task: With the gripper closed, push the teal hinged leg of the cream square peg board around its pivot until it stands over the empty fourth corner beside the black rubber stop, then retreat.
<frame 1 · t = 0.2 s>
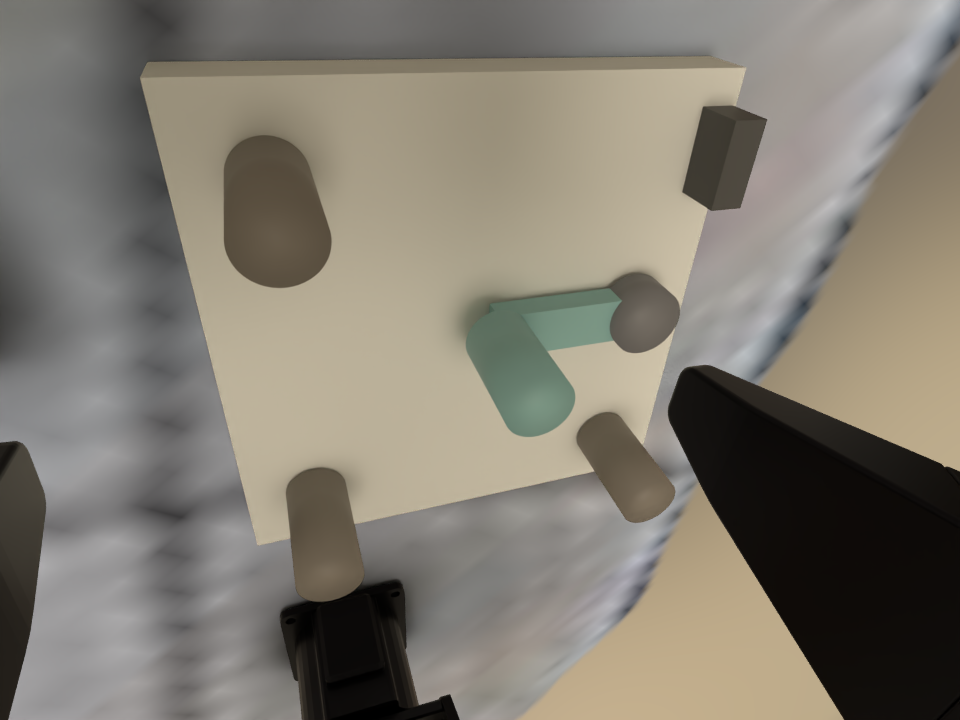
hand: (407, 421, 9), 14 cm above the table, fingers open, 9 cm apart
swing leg: (592, 349, 22), point 5 cm above the table, hinge at 90.0°
cream square peg board: (458, 308, 25), on the table
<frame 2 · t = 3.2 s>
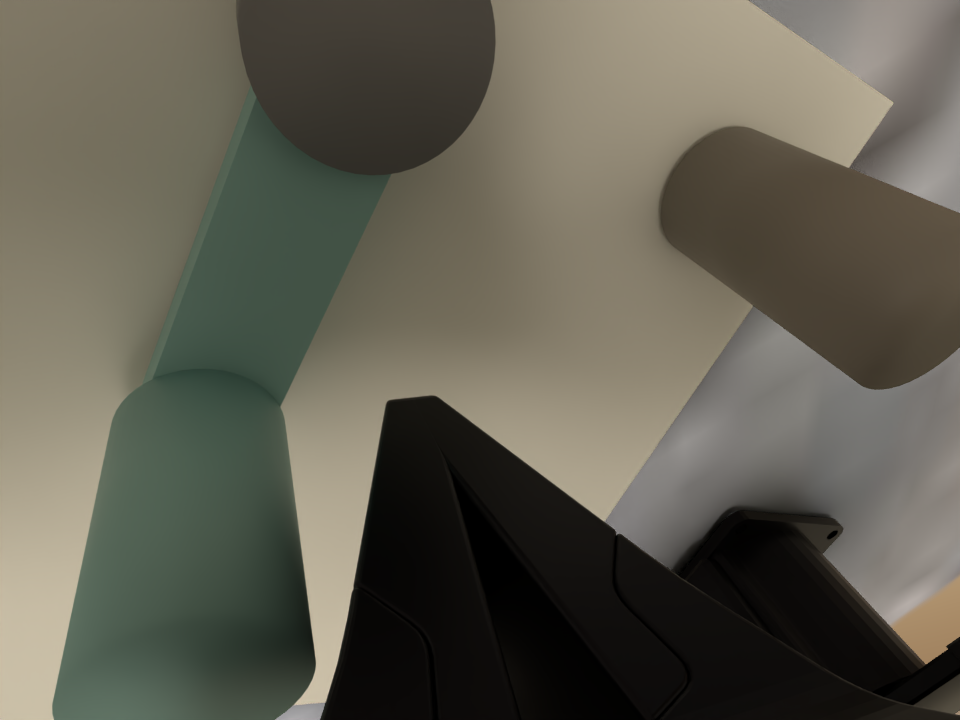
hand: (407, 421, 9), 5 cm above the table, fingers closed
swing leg: (286, 315, 7), point 5 cm above the table, hinge at 84.3°, touching gripper
cream square peg board: (257, 358, 13), on the table
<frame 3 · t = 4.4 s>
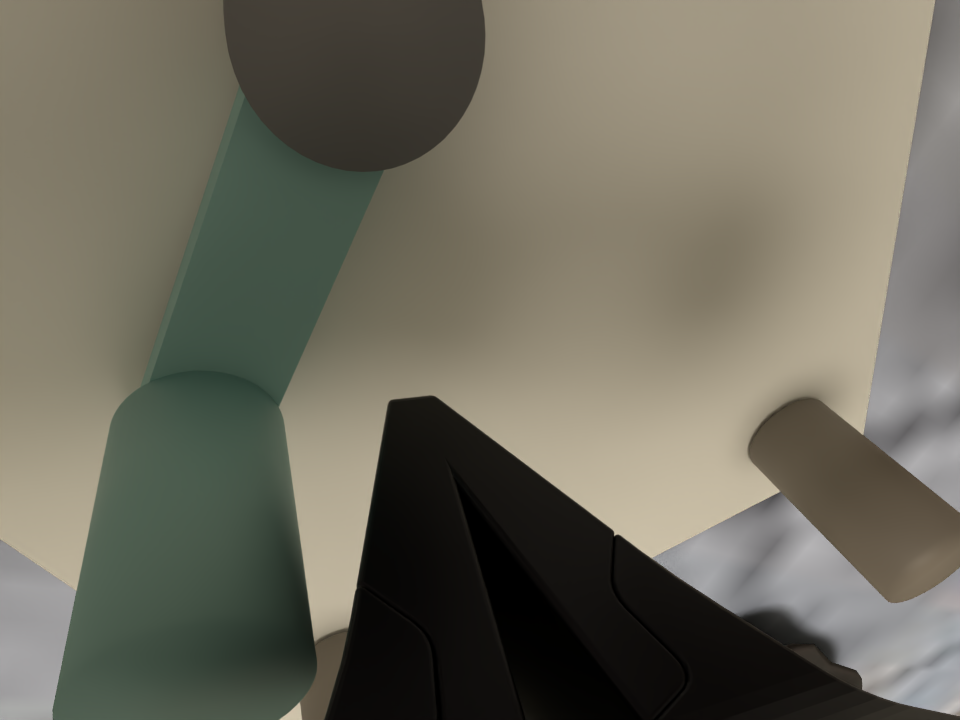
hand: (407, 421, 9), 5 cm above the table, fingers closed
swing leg: (280, 315, 7), point 5 cm above the table, hinge at 42.7°, touching gripper
cream square peg board: (474, 314, 14), on the table
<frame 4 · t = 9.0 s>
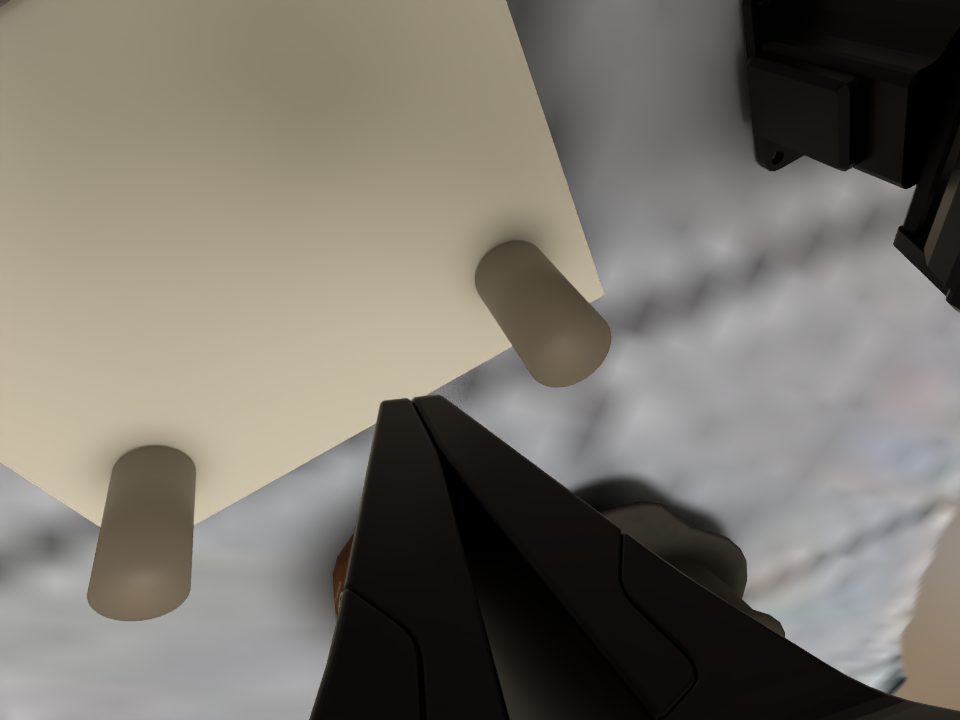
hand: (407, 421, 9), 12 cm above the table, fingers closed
cream square peg board: (199, 178, 17), on the table
food container: (373, 570, 30), on the table
casserole: (594, 608, 39), on the table
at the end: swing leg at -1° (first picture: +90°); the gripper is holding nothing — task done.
